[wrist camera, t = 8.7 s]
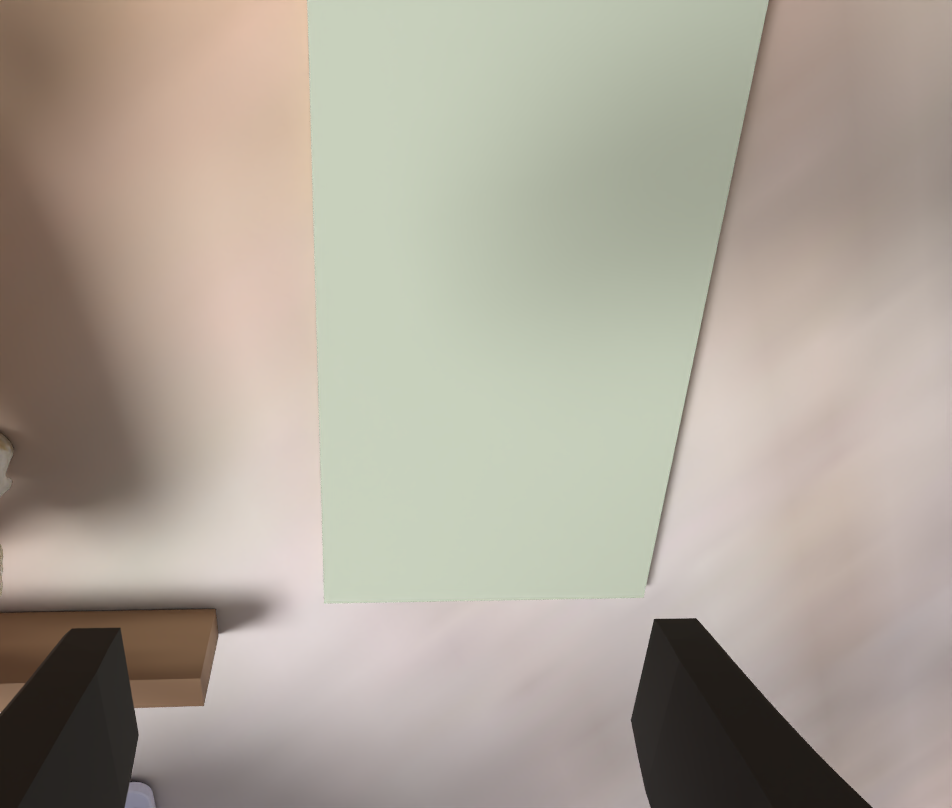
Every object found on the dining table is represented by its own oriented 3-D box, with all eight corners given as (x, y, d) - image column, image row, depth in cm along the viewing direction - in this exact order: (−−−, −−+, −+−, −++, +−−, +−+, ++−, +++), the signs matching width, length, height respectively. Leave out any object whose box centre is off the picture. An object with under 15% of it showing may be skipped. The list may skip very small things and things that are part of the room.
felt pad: (639, 588, 26) (643, 597, 26) (325, 593, 25) (324, 603, 25) (776, -78, 17) (785, -77, 17) (305, -112, 16) (304, -111, 16)
